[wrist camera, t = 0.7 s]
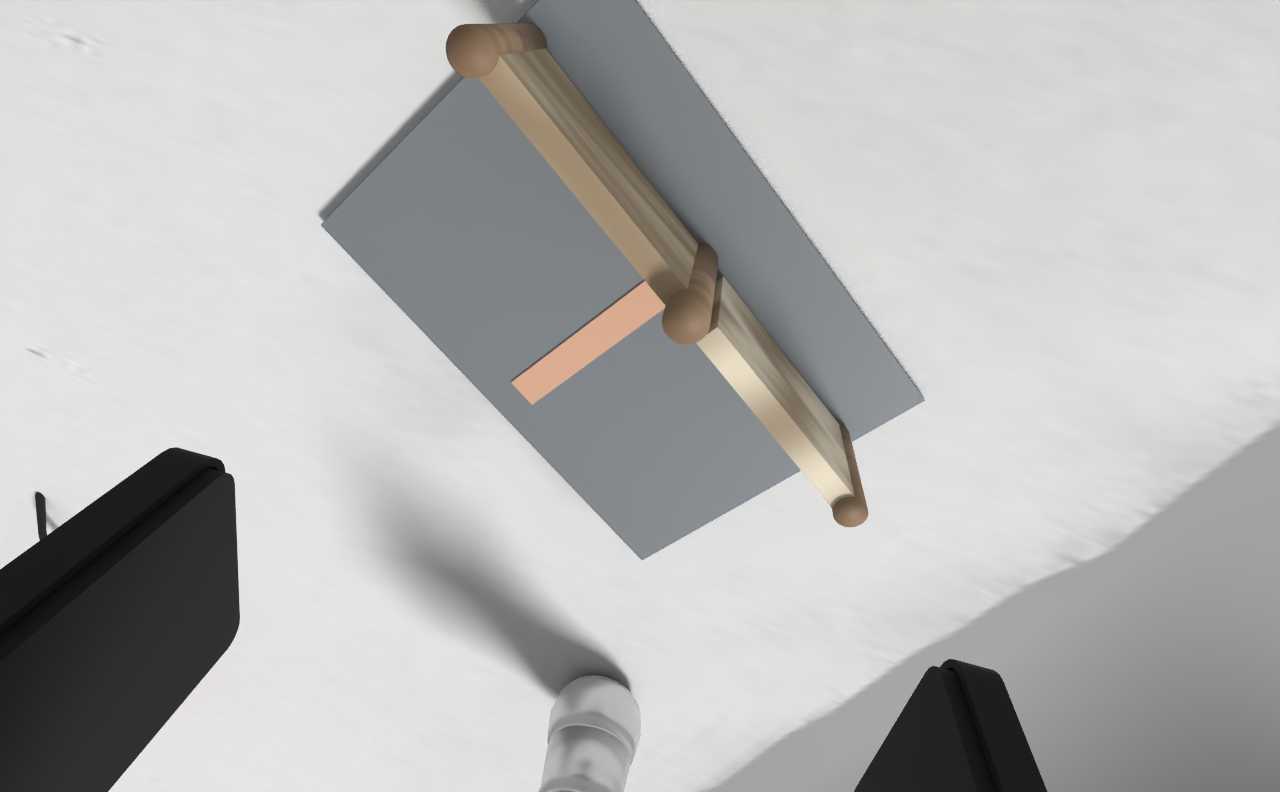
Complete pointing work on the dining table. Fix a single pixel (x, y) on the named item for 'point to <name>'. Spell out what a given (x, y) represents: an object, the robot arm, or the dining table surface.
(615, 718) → the plastic bottle
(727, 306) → the fence gate
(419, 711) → the dining table surface
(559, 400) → the board
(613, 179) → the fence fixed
